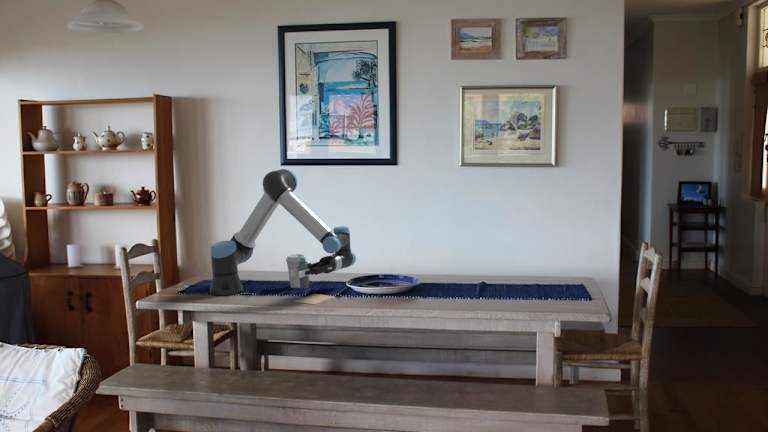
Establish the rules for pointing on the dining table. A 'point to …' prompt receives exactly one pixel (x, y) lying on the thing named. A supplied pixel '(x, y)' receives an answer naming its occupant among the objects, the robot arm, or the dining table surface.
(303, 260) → the grey bottle
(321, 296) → the notepad
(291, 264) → the coffee cup
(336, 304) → the dining table surface
